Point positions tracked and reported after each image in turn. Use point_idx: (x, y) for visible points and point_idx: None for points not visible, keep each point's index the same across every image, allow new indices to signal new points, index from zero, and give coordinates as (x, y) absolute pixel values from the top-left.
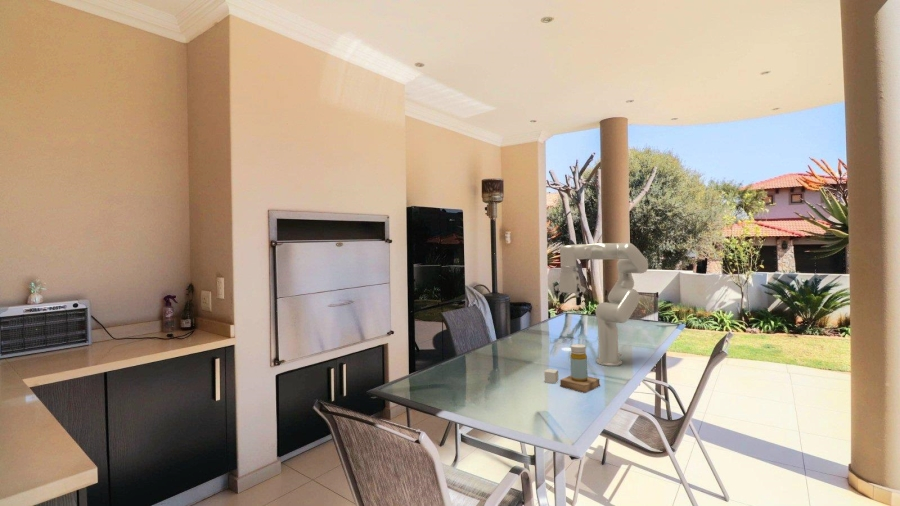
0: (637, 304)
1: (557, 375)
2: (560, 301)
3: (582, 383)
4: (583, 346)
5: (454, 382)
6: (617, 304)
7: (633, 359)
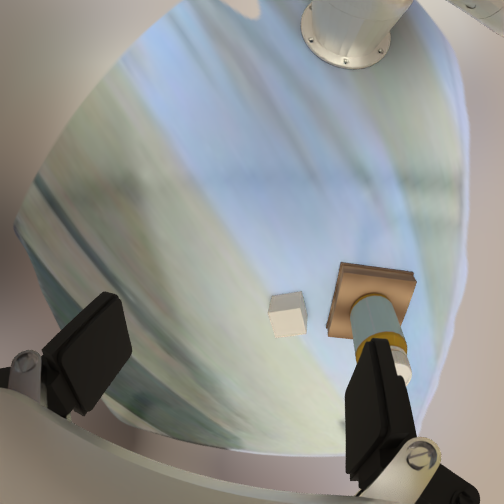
0: None
1: (302, 307)
2: (116, 367)
3: None
4: (405, 376)
5: (146, 383)
6: None
7: None
